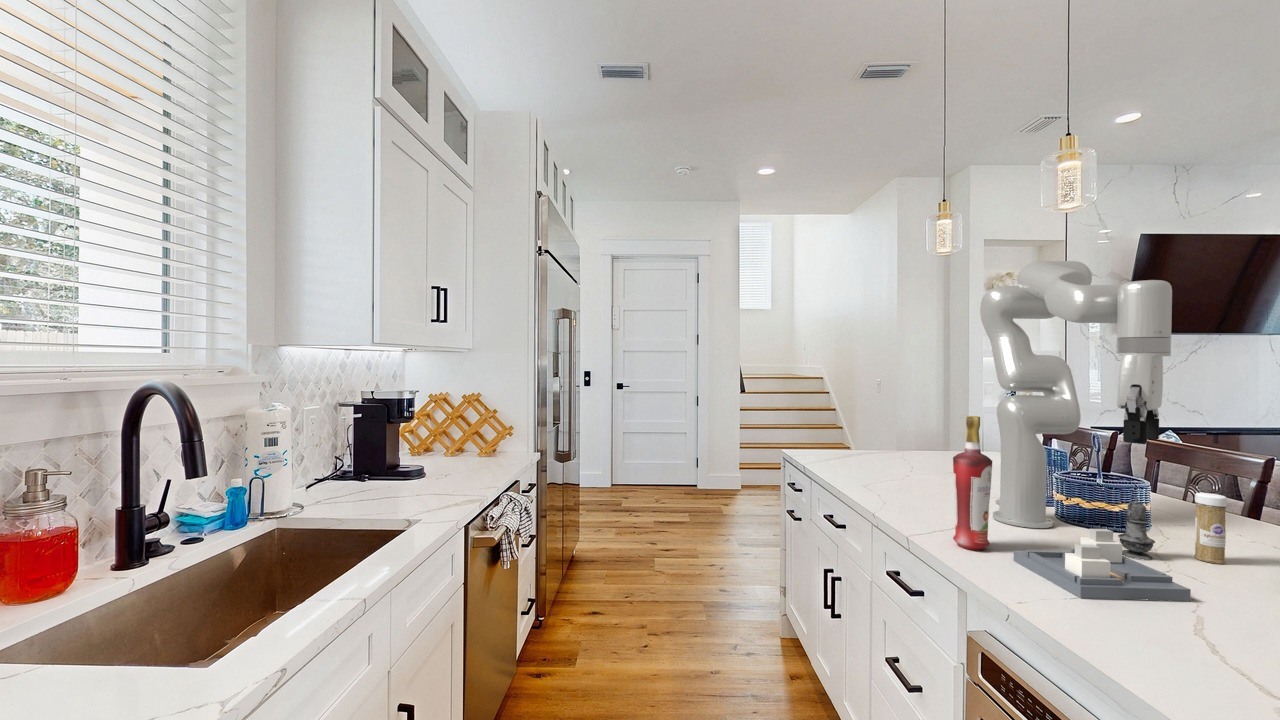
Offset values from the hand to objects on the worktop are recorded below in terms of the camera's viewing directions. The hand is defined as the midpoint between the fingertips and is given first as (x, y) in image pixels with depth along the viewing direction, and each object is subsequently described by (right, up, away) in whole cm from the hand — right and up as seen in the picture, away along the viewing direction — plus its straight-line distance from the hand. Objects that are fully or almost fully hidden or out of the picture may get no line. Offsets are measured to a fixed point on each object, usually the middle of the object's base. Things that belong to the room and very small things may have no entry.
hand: (1141, 440), depth 105 cm
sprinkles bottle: (+23, -26, +11) cm, 37 cm away
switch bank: (-9, -25, 0) cm, 27 cm away
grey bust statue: (+10, -26, +13) cm, 31 cm away
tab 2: (-14, -23, -5) cm, 28 cm away
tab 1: (-4, -23, +4) cm, 24 cm away
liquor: (-21, -25, +17) cm, 37 cm away
